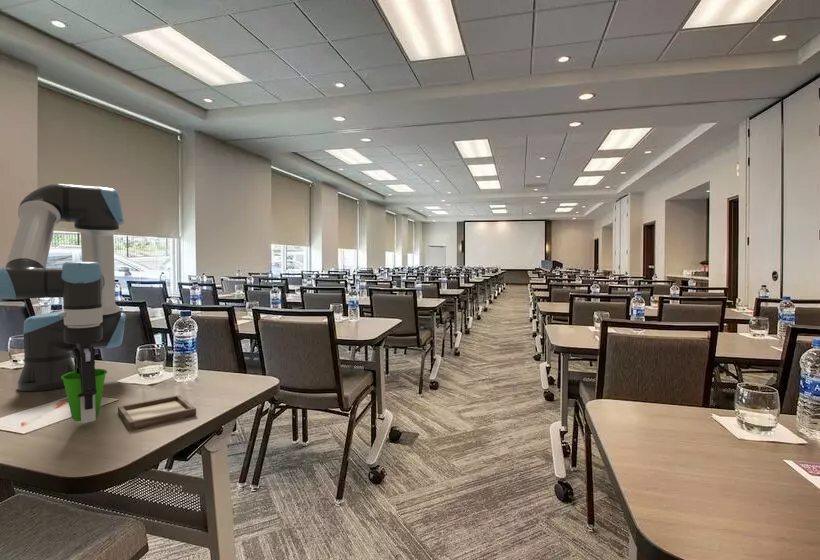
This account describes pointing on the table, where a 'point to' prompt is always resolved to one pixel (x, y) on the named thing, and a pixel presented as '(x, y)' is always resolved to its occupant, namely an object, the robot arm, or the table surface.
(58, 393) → the table surface
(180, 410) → the tray
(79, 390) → the cup
